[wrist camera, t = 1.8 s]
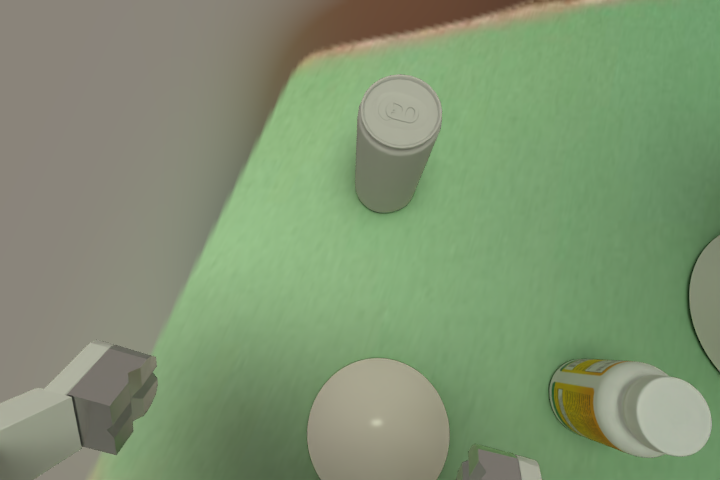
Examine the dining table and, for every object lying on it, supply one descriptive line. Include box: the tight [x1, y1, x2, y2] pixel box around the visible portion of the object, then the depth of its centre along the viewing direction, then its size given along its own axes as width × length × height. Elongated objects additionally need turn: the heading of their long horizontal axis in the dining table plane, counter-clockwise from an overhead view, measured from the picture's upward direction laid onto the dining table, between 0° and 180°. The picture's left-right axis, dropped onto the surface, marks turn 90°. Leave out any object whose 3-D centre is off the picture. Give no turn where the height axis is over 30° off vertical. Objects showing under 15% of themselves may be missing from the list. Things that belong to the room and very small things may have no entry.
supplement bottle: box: [549, 359, 712, 458], centre depth 28 cm, size 5×5×10 cm
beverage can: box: [355, 74, 442, 213], centre depth 31 cm, size 5×5×12 cm
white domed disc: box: [307, 358, 450, 480], centre depth 32 cm, size 10×10×1 cm
